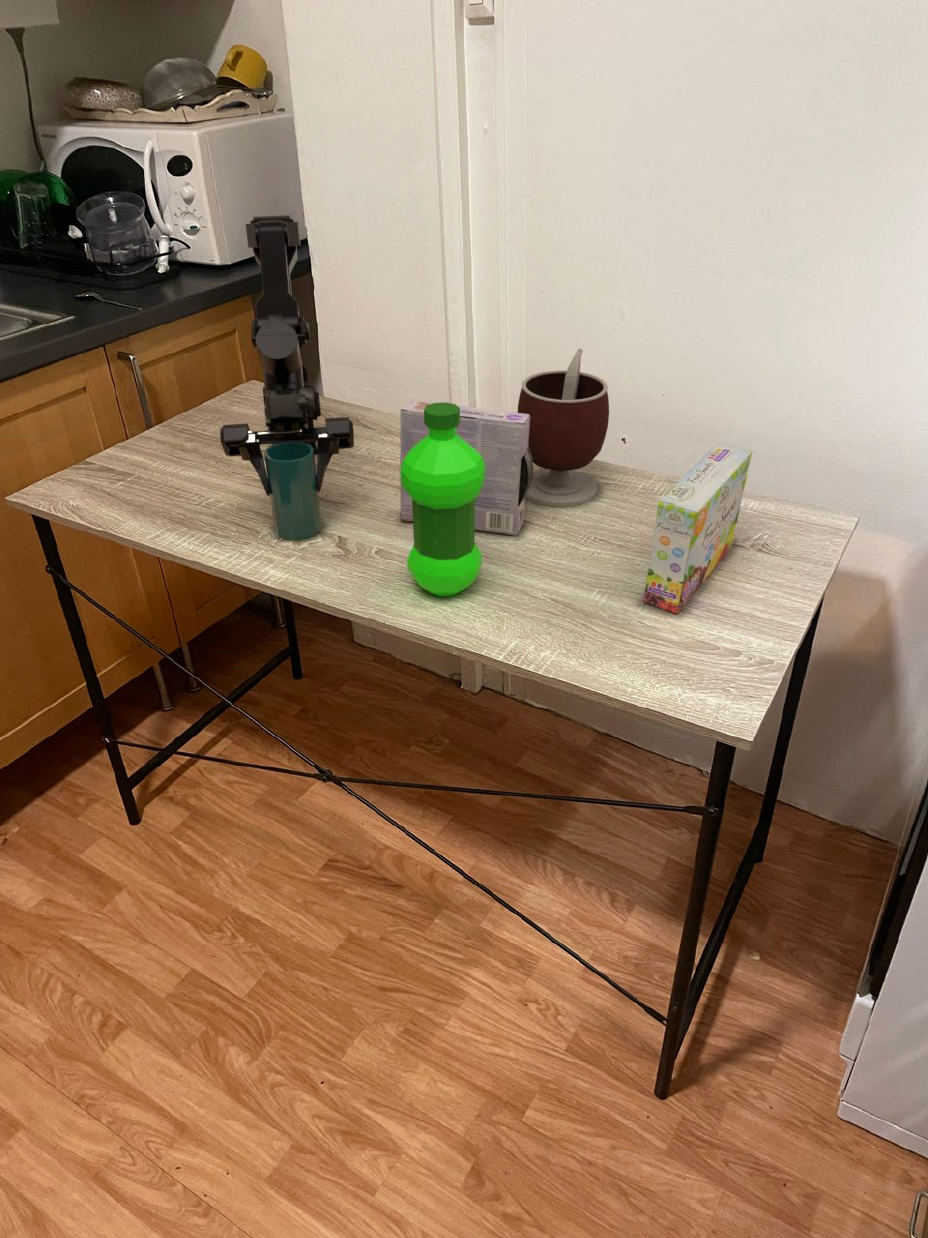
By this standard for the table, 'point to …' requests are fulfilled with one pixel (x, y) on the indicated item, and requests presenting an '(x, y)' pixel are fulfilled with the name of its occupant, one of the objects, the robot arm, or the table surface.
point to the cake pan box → (503, 456)
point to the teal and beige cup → (293, 490)
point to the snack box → (695, 526)
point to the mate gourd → (564, 432)
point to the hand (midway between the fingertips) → (293, 492)
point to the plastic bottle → (443, 504)
